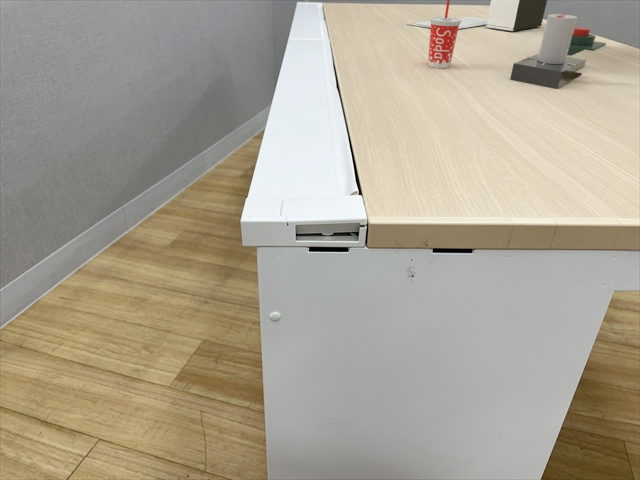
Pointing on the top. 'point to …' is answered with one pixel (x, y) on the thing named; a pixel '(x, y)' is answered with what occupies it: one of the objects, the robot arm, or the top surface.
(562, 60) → the light grey cylinder
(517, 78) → the tap block
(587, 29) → the stop button
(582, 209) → the top surface
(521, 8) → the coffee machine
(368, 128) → the top surface
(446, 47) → the beverage cup
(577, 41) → the button box
